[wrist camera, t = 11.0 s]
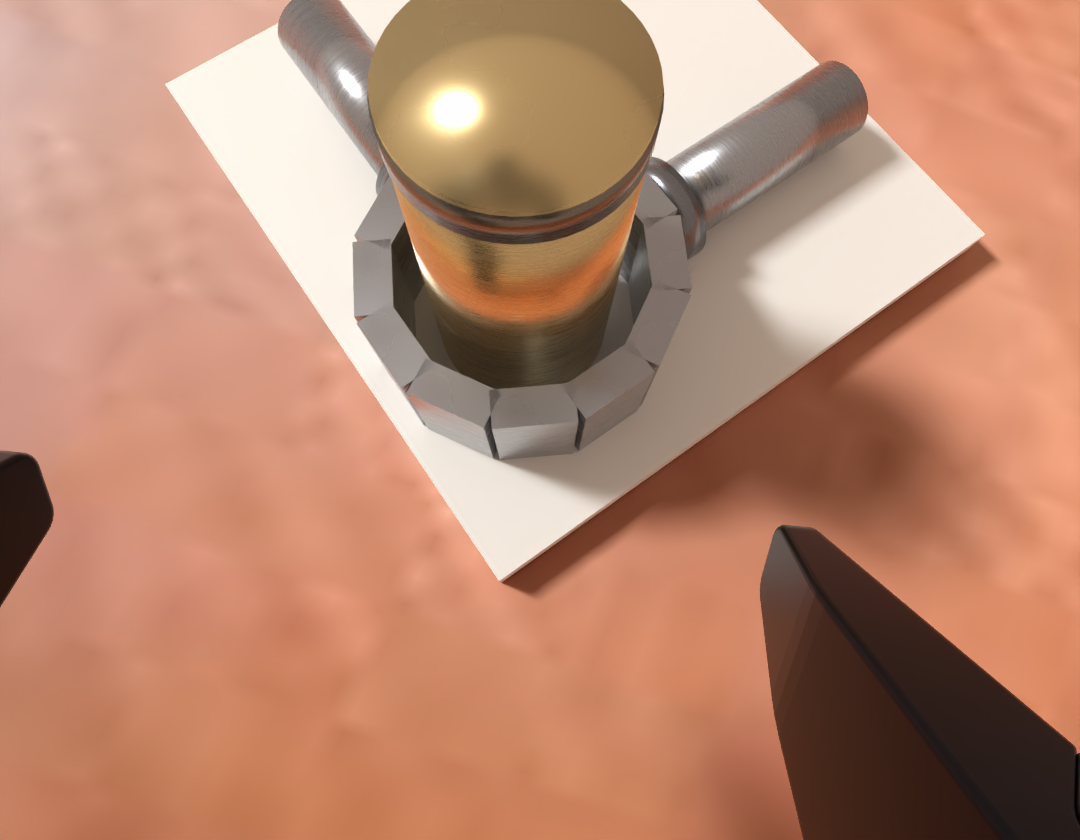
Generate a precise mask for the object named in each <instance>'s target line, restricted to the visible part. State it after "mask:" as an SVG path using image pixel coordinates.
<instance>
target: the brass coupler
mask: <svg viewBox="0 0 1080 840" xmlns="http://www.w3.org/2000/svg"><path fill="white" fill-rule="evenodd" d="M367 102H368V110H369V117H370V120H371V124H372V128H373V131H374V134H375V137H376V141H377V144H378V147H379V150H380V153H381V156H382V159H383V162H384V164H385V166H386V169H387V171H388V173H389V175H390V177H391V179H392V182H393V185H394V188H395V191H396V194H397V198H398V201H399V204H400V207H401V210H402V213H403V217H404V220H405V223H406V226H407V229H408V233H409V236H410V239H411V242H412V245H413V248H414V252H415V255H416V258H417V261H418V264H419V268H420V271H421V274H422V277H423V280H424V283H425V287H426V290H427V293H428V296H429V299H430V303H431V306H432V309H433V312H434V315H435V318H436V322H437V325H438V328H439V331H440V334H441V338H442V341H443V344H444V347H445V349H446V352H447V354H448V356H449V358H450V360H451V361H452V363H453V364H454V366H455V367H456V368H457V369H458V371H459V372H460V373H461V374H462V375H464V376H467V377H469V378H471V379H473V380H476V381H478V382H480V383H482V384H485V385H487V386H489V387H491V388H494V389H505V388H517V387H529V386H540V385H552V384H563V383H568V382H570V381H571V380H573V379H574V378H576V377H577V376H579V375H580V374H582V373H583V372H585V371H586V370H588V369H589V367H590V366H591V365H592V363H593V362H594V360H595V358H596V357H597V355H598V353H599V350H600V348H601V345H602V342H603V338H604V334H605V330H606V326H607V322H608V318H609V314H610V310H611V306H612V302H613V298H614V294H615V290H616V286H617V282H618V278H619V274H620V270H621V266H622V262H623V258H624V254H625V250H626V246H627V242H628V238H629V234H630V230H631V226H632V222H633V218H634V214H635V211H636V207H637V203H638V199H639V195H640V191H641V187H642V183H643V179H644V175H645V172H646V170H647V168H648V165H649V163H650V160H651V157H652V154H653V150H654V147H655V143H656V139H657V135H658V131H659V127H660V123H661V118H662V114H663V108H664V85H663V74H662V67H661V63H660V59H659V55H658V52H657V50H656V48H655V45H654V43H653V40H652V38H651V37H650V35H649V33H648V32H647V30H646V28H645V27H644V25H643V24H642V22H641V21H640V20H639V19H638V18H637V16H636V15H635V14H634V13H633V11H632V10H630V9H629V8H628V7H627V6H626V5H625V4H624V3H623V2H622V1H621V0H410V1H409V2H408V3H406V4H405V5H404V6H403V8H402V9H401V10H400V11H399V12H398V13H397V14H396V15H395V16H394V17H393V18H392V20H391V21H390V23H389V24H388V25H387V27H386V28H385V29H384V31H383V33H382V35H381V37H380V39H379V41H378V42H377V45H376V47H375V50H374V53H373V56H372V58H371V63H370V68H369V73H368V92H367Z"/></svg>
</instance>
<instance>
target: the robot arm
mask: <svg viewBox="0 0 1080 840" xmlns="http://www.w3.org/2000/svg"><path fill="white" fill-rule="evenodd" d="M53 516H54V509H53V505H52V502H51V499H50V496H49V493H48V490H47V487H46V484H45V481H44V478H43V476H42V473H41V470H40V467H39V464H38V462H37V461H36V460H35V459H34V457H33V456H31V455H29V454H27V453H21V452H10V451H0V607H1V605H2V604H3V602H4V600H5V599H6V597H7V596H8V594H9V592H10V591H11V589H12V588H13V586H14V584H15V583H16V581H17V580H18V578H19V576H20V575H21V573H22V572H23V570H24V569H25V567H26V565H27V564H28V562H29V561H30V559H31V557H32V556H33V554H34V553H35V551H36V549H37V548H38V546H39V545H40V543H41V542H42V540H43V538H44V537H45V535H46V534H47V532H48V530H49V529H50V527H51V524H52V521H53ZM760 601H761V609H762V618H763V626H764V635H765V643H766V652H767V660H768V669H769V677H770V686H771V695H772V702H773V709H774V716H775V721H776V726H777V730H778V735H779V740H780V744H781V748H782V752H783V756H784V760H785V765H786V769H787V773H788V777H789V781H790V786H791V790H792V794H793V798H794V802H795V806H796V811H797V815H798V819H799V823H800V827H801V832H802V836H803V840H1080V753H1078V754H1076V753H1077V751H1076V747H1075V746H1074V745H1073V744H1072V743H1071V742H1069V741H1068V740H1067V739H1066V738H1065V737H1063V736H1062V735H1061V734H1060V733H1059V732H1058V731H1056V730H1055V729H1054V728H1053V727H1052V726H1050V725H1049V724H1048V723H1047V722H1046V721H1044V720H1043V719H1042V718H1041V717H1040V716H1038V715H1037V714H1036V713H1035V712H1034V711H1032V710H1031V709H1030V708H1029V707H1028V706H1026V705H1025V704H1024V703H1023V702H1022V701H1020V700H1019V699H1018V698H1017V697H1016V696H1015V695H1013V694H1012V693H1011V692H1010V691H1009V690H1007V689H1006V688H1005V687H1004V686H1003V685H1001V684H1000V683H999V682H998V681H997V680H995V679H994V678H993V677H992V676H991V675H989V674H988V673H987V672H986V671H985V670H983V669H982V668H981V667H980V666H979V665H977V664H976V663H975V662H974V661H973V660H972V659H970V658H969V657H968V656H967V655H966V654H964V653H963V652H962V651H961V650H960V649H958V648H957V647H956V646H955V645H954V644H952V643H951V642H950V641H949V640H948V639H946V638H945V637H944V636H943V635H942V634H940V633H939V632H938V631H937V630H936V629H934V628H933V627H932V626H931V625H930V624H928V623H927V622H926V621H925V620H924V619H923V618H921V617H920V616H919V615H918V614H917V613H915V612H914V611H913V610H912V609H911V608H909V607H908V606H907V605H906V604H905V603H903V602H902V601H901V600H900V599H899V598H897V597H896V596H895V595H894V594H893V593H891V592H890V591H889V590H888V589H887V588H885V587H884V586H883V585H882V584H881V583H880V582H878V581H877V580H876V579H875V578H874V577H872V576H871V575H870V574H869V573H868V572H866V571H865V570H864V569H863V568H862V567H860V566H859V565H858V564H857V563H856V562H854V561H853V560H852V559H851V558H850V557H848V556H847V555H846V554H845V553H844V552H842V551H841V550H840V549H839V548H838V547H837V546H835V545H834V544H833V543H832V542H831V541H829V540H828V539H827V538H826V537H825V536H823V535H822V534H821V533H820V532H818V531H817V530H816V529H814V528H810V527H800V526H789V525H781V526H780V527H778V528H777V529H776V531H775V533H774V535H773V538H772V542H771V545H770V549H769V552H768V556H767V559H766V563H765V566H764V570H763V574H762V577H761V583H760Z"/></svg>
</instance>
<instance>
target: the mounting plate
mask: <svg viewBox="0 0 1080 840" xmlns="http://www.w3.org/2000/svg"><path fill="white" fill-rule="evenodd" d="M340 1H341V2H342V3H343V5H344V6H345V7H346V8H347V10H348V11H349V12H350V13H351V15H352V16H353V17H354V19H355V20H356V21H357V22H358V24H359V25H360V26H361V28H362V29H363V30H364V31H365V33H366V34H367V35H368V37H369V38H370V39H371V40H372V42H373V43H374V44H375V46H376V45H377V42H378V41H379V39H380V37H381V35H382V33H383V31H384V29H385V28H386V27H387V25H388V24H389V23H390V21H391V20H392V18H393V17H394V16H395V15H396V14H397V13H398V12H399V11H400V10H401V9H402V8H403V6H404V5H405V4H406V3H408V2H409V1H410V0H340ZM621 1H622V2H623V3H624V4H625V5H626V6H627V7H628V8H629V9H630V10H632V11H633V13H634V14H635V15H636V16H637V18H638V19H639V20H640V21H641V22H642V24H643V25H644V27H645V28H646V30H647V32H648V33H649V35H650V37H651V38H652V40H653V43H654V45H655V48H656V50H657V52H658V55H659V59H660V63H661V67H662V74H663V85H664V108H663V114H662V118H661V123H660V127H659V131H658V135H657V139H656V143H655V147H654V150H653V154H652V157H656V158H659V159H662V160H663V161H665V162H666V161H668V160H669V159H671V158H673V157H674V156H676V155H677V154H679V153H681V152H682V151H684V150H685V149H687V148H688V147H690V146H692V145H693V144H695V143H696V142H698V141H699V140H701V139H703V138H704V137H706V136H707V135H709V134H711V133H712V132H714V131H715V130H717V129H718V128H720V127H722V126H723V125H725V124H726V123H728V122H729V121H731V120H733V119H734V118H736V117H737V116H739V115H741V114H742V113H744V112H745V111H747V110H748V109H750V108H752V107H753V106H755V105H756V104H758V103H759V102H761V101H763V100H764V99H766V98H767V97H769V96H771V95H772V94H774V93H775V92H777V91H778V90H780V89H782V88H783V87H785V86H786V85H788V84H789V83H791V82H793V81H794V80H796V79H797V78H799V77H801V76H802V75H804V74H805V73H807V72H808V71H810V70H812V69H813V68H815V67H816V66H818V65H819V63H818V62H817V61H816V60H815V59H814V58H813V57H812V56H811V55H810V54H809V53H808V52H807V51H806V50H805V49H804V48H803V47H802V46H801V45H800V44H799V43H798V42H797V41H796V40H795V39H794V38H793V37H792V36H791V35H790V34H789V33H788V32H787V31H786V30H785V29H784V27H783V26H782V25H781V24H780V23H779V22H778V21H777V20H776V19H775V18H774V17H773V16H772V15H771V14H770V13H769V12H768V11H767V10H766V9H765V8H764V7H763V6H762V5H761V4H760V3H759V2H758V1H757V0H621ZM165 85H166V86H167V88H168V89H169V91H170V92H171V94H172V95H173V97H174V98H175V100H176V101H177V103H178V104H179V106H180V107H181V109H182V110H183V112H184V113H185V115H186V116H187V118H188V119H189V121H190V122H191V124H192V125H193V126H194V128H195V129H196V131H197V132H198V134H199V135H200V137H201V138H202V140H203V141H204V143H205V144H206V146H207V147H208V149H209V150H210V152H211V153H212V155H213V156H214V158H215V159H216V161H217V162H218V164H219V165H220V167H221V168H222V170H223V171H224V173H225V174H226V176H227V177H228V179H229V180H230V182H231V183H232V184H233V186H234V187H235V189H236V190H237V192H238V193H239V195H240V196H241V198H242V199H243V201H244V202H245V204H246V205H247V207H248V208H249V210H250V211H251V213H252V214H253V216H254V217H255V219H256V220H257V222H258V223H259V225H260V226H261V228H262V229H263V231H264V232H265V234H266V235H267V237H268V238H269V240H270V241H271V242H272V244H273V245H274V247H275V248H276V250H277V251H278V253H279V254H280V256H281V257H282V259H283V260H284V262H285V263H286V265H287V266H288V268H289V269H290V271H291V272H292V274H293V275H294V277H295V278H296V280H297V281H298V283H299V284H300V286H301V287H302V289H303V290H304V292H305V293H306V295H307V296H308V298H309V299H310V300H311V302H312V303H313V305H314V306H315V308H316V309H317V311H318V312H319V314H320V315H321V317H322V318H323V320H324V321H325V323H326V324H327V326H328V327H329V329H330V330H331V332H332V333H333V335H334V336H335V338H336V339H337V341H338V342H339V344H340V345H341V347H342V348H343V350H344V351H345V353H346V354H347V356H348V357H349V358H350V360H351V361H352V363H353V364H354V366H355V367H356V369H357V370H358V372H359V373H360V375H361V376H362V378H363V379H364V381H365V382H366V384H367V385H368V387H369V388H370V390H371V391H372V393H373V394H374V396H375V397H376V399H377V400H378V402H379V403H380V405H381V406H382V408H383V409H384V411H385V412H386V414H387V415H388V416H389V418H390V419H391V421H392V422H393V424H394V425H395V427H396V428H397V430H398V431H399V433H400V434H401V436H402V437H403V439H404V440H405V442H406V443H407V445H408V446H409V448H410V449H411V451H412V452H413V454H414V455H415V457H416V458H417V460H418V461H419V463H420V464H421V466H422V467H423V469H424V470H425V472H426V473H427V474H428V476H429V477H430V479H431V480H432V482H433V483H434V485H435V486H436V488H437V489H438V491H439V492H440V494H441V495H442V497H443V498H444V500H445V501H446V503H447V504H448V506H449V507H450V509H451V510H452V512H453V513H454V515H455V516H456V518H457V519H458V521H459V522H460V524H461V525H462V527H463V528H464V530H465V531H466V532H467V534H468V535H469V537H470V538H471V540H472V541H473V543H474V544H475V546H476V547H477V549H478V550H479V552H480V553H481V555H482V556H483V558H484V559H485V561H486V562H487V564H488V565H489V567H490V568H491V570H492V571H493V573H494V574H495V576H496V577H497V579H498V580H499V581H500V582H501V583H502V582H503V581H504V580H506V579H507V578H509V577H510V576H511V575H513V574H514V573H516V572H517V571H518V570H520V569H521V568H523V567H524V566H525V565H527V564H528V563H530V562H531V561H532V560H534V559H535V558H537V557H538V556H539V555H541V554H542V553H544V552H545V551H546V550H548V549H549V548H551V547H552V546H553V545H555V544H556V543H558V542H559V541H560V540H562V539H563V538H565V537H566V536H567V535H569V534H570V533H572V532H573V531H574V530H576V529H577V528H579V527H580V526H581V525H583V524H584V523H586V522H587V521H588V520H590V519H591V518H593V517H594V516H595V515H597V514H598V513H600V512H601V511H602V510H604V509H605V508H607V507H608V506H609V505H611V504H612V503H614V502H615V501H616V500H618V499H619V498H621V497H622V496H623V495H625V494H626V493H628V492H629V491H630V490H632V489H633V488H635V487H636V486H637V485H639V484H640V483H642V482H643V481H644V480H646V479H647V478H649V477H650V476H651V475H653V474H654V473H656V472H657V471H658V470H660V469H661V468H663V467H664V466H665V465H667V464H668V463H670V462H671V461H672V460H674V459H675V458H677V457H678V456H679V455H681V454H682V453H684V452H685V451H686V450H688V449H689V448H691V447H692V446H693V445H695V444H696V443H698V442H699V441H700V440H702V439H703V438H705V437H706V436H707V435H709V434H710V433H712V432H713V431H714V430H716V429H717V428H719V427H720V426H721V425H723V424H724V423H726V422H727V421H728V420H730V419H731V418H733V417H734V416H735V415H737V414H738V413H740V412H741V411H742V410H744V409H745V408H747V407H748V406H749V405H751V404H752V403H754V402H755V401H756V400H758V399H759V398H761V397H762V396H763V395H765V394H766V393H768V392H769V391H770V390H772V389H773V388H775V387H776V386H777V385H779V384H780V383H782V382H783V381H784V380H786V379H787V378H789V377H790V376H791V375H793V374H794V373H796V372H797V371H798V370H800V369H801V368H803V367H804V366H805V365H807V364H808V363H810V362H811V361H812V360H814V359H815V358H817V357H818V356H819V355H821V354H822V353H824V352H825V351H826V350H828V349H829V348H831V347H832V346H833V345H835V344H836V343H838V342H839V341H840V340H842V339H843V338H845V337H846V336H847V335H849V334H850V333H852V332H853V331H854V330H856V329H857V328H859V327H860V326H861V325H863V324H864V323H866V322H867V321H868V320H870V319H871V318H873V317H874V316H875V315H877V314H878V313H880V312H881V311H882V310H884V309H885V308H887V307H888V306H889V305H891V304H892V303H894V302H895V301H896V300H898V299H899V298H901V297H902V296H903V295H905V294H906V293H908V292H909V291H910V290H912V289H913V288H915V287H916V286H917V285H919V284H920V283H922V282H923V281H924V280H926V279H927V278H929V277H930V276H931V275H933V274H934V273H936V272H937V271H938V270H940V269H941V268H943V267H944V266H945V265H947V264H948V263H950V262H951V261H952V260H954V259H955V258H957V257H958V256H959V255H961V254H962V253H964V252H965V251H966V250H968V249H969V248H970V247H971V246H972V245H973V244H975V243H976V242H977V241H978V240H979V239H980V238H982V237H983V236H984V235H985V234H984V233H983V232H982V231H981V230H980V229H979V228H978V227H977V226H976V225H975V224H974V222H973V221H972V220H971V219H970V218H969V217H968V216H967V215H966V214H965V213H964V212H963V211H962V210H961V209H960V208H959V207H958V206H957V205H956V204H955V203H954V202H953V201H952V200H951V199H950V198H949V197H948V196H947V195H946V194H945V193H944V192H943V191H942V190H941V189H940V188H939V187H938V186H937V185H936V183H935V182H934V181H933V180H932V179H931V178H930V177H929V176H928V175H927V174H926V173H925V172H924V171H923V170H922V169H921V168H920V167H919V166H918V165H917V164H916V163H915V162H914V161H913V160H912V159H911V158H910V157H909V156H908V155H907V154H906V153H905V152H904V151H903V150H902V149H901V148H900V147H899V146H898V144H897V143H896V142H895V141H894V140H893V139H892V138H891V137H890V136H889V135H888V134H887V133H886V132H885V131H884V130H883V129H882V128H881V127H880V126H879V125H878V124H877V123H876V122H875V121H874V120H873V119H872V118H871V117H870V116H869V115H868V114H867V118H866V121H865V123H864V125H863V127H862V128H861V129H860V130H859V131H858V132H857V133H855V134H854V135H852V136H851V137H849V138H848V139H846V140H845V141H843V142H842V143H840V144H839V145H837V146H836V147H834V148H833V149H831V150H830V151H828V152H827V153H825V154H823V155H822V156H820V157H819V158H817V159H816V160H814V161H813V162H811V163H810V164H808V165H807V166H805V167H804V168H802V169H801V170H799V171H798V172H796V173H795V174H793V175H792V176H790V177H789V178H787V179H786V180H784V181H783V182H781V183H779V184H778V185H776V186H775V187H773V188H772V189H770V190H769V191H767V192H766V193H764V194H763V195H761V196H760V197H758V198H757V199H755V200H754V201H752V202H751V203H749V204H748V205H746V206H745V207H743V208H742V209H740V210H739V211H737V212H735V213H734V214H732V215H731V216H729V217H728V218H726V219H725V220H723V221H722V222H720V223H719V224H717V225H716V226H714V227H713V228H711V229H710V230H708V231H707V232H706V242H705V245H704V248H703V249H702V250H701V251H700V252H699V253H698V254H696V255H695V256H693V257H691V258H690V259H688V265H689V272H690V278H691V284H692V289H691V292H690V295H691V297H690V299H689V301H688V303H687V306H686V308H685V310H684V312H683V315H682V317H681V319H680V321H679V324H678V326H677V328H676V330H675V333H674V335H673V337H672V339H671V342H670V344H669V346H668V348H667V351H666V353H665V355H664V357H663V360H662V362H661V364H660V366H659V369H658V371H657V373H656V375H655V377H654V379H653V381H652V384H651V386H650V388H649V390H648V392H647V394H646V396H645V399H644V401H643V403H642V405H641V406H639V408H638V410H637V411H636V412H635V413H633V414H632V415H631V416H629V417H628V418H626V419H625V420H623V421H622V422H620V423H619V424H618V425H616V426H615V427H613V428H612V429H610V430H609V431H607V432H606V433H605V434H603V435H602V436H600V437H599V438H597V439H596V440H595V441H593V442H592V443H590V444H589V445H587V446H586V447H584V448H583V449H582V450H580V451H578V449H577V448H576V447H575V445H574V449H573V454H563V455H551V456H540V457H529V458H518V459H506V460H500V458H499V454H498V450H497V453H496V455H495V457H494V459H492V458H490V457H488V456H486V455H484V454H482V453H479V452H477V451H475V450H473V449H471V448H468V447H466V446H464V445H462V444H460V443H457V442H455V441H453V440H451V439H449V438H446V437H444V436H442V435H440V434H438V433H436V432H433V431H431V430H429V429H428V428H427V426H426V424H425V425H423V424H422V422H421V421H420V419H419V418H418V416H417V415H416V413H415V412H414V410H413V409H412V407H411V406H410V405H409V403H408V402H407V400H406V399H405V397H404V396H403V394H402V393H401V391H400V390H399V388H398V387H397V386H396V384H395V383H394V381H393V380H392V378H391V377H390V375H389V374H388V372H387V371H386V369H385V368H384V366H383V365H382V363H381V362H380V360H379V358H378V357H377V355H376V354H375V352H374V350H373V349H372V347H371V346H370V344H369V343H368V341H367V339H366V338H365V336H364V335H363V333H362V332H361V330H360V328H359V327H358V325H357V324H356V323H357V320H356V319H355V317H354V292H353V247H352V242H357V240H356V238H355V236H354V235H355V233H356V231H357V230H358V228H359V226H360V225H361V223H362V221H363V220H364V218H365V216H366V215H367V213H368V211H369V210H370V208H371V206H372V204H373V203H374V201H375V199H376V198H377V194H376V180H377V174H376V173H375V172H374V170H373V169H372V167H371V166H370V165H369V163H368V162H367V161H366V159H365V158H364V157H363V155H362V154H361V153H360V151H359V150H358V148H357V147H356V146H355V144H354V143H353V142H352V140H351V139H350V138H349V136H348V135H347V134H346V132H345V131H344V129H343V128H342V127H341V125H340V124H339V123H338V121H337V120H336V119H335V117H334V116H333V115H332V113H331V112H330V110H329V109H328V108H327V106H326V105H325V104H324V102H323V101H322V100H321V98H320V97H319V96H318V94H317V93H316V91H315V90H314V89H313V87H312V86H311V85H310V83H309V82H308V81H307V79H306V78H305V77H304V75H303V74H302V73H301V71H300V70H299V68H298V67H297V66H296V64H295V63H294V62H293V60H292V59H291V58H290V56H289V55H288V54H287V52H286V51H285V49H284V48H283V47H282V45H281V43H280V41H279V37H278V23H277V24H276V25H274V26H272V27H270V28H268V29H266V30H264V31H263V32H261V33H259V34H257V35H255V36H253V37H251V38H250V39H248V40H246V41H244V42H242V43H240V44H239V45H237V46H235V47H233V48H231V49H229V50H227V51H226V52H224V53H222V54H220V55H218V56H216V57H215V58H213V59H211V60H209V61H207V62H205V63H203V64H202V65H200V66H198V67H196V68H194V69H192V70H190V71H189V72H187V73H185V74H183V75H181V76H179V77H178V78H176V79H174V80H172V81H170V82H168V83H166V84H165ZM414 305H415V326H416V340H417V341H418V343H419V344H420V345H421V347H422V348H423V350H424V351H425V353H426V354H427V355H428V357H429V358H430V360H431V361H433V362H435V363H437V364H440V365H442V366H444V367H446V368H449V369H451V370H453V371H455V372H458V373H460V372H459V371H458V369H457V368H456V367H455V366H454V364H453V363H452V361H451V360H450V358H449V356H448V354H447V352H446V349H445V347H444V344H443V341H442V338H441V334H440V331H439V328H438V325H437V322H436V318H435V315H434V312H433V309H432V306H431V303H430V299H429V296H428V293H427V290H426V287H425V284H424V285H423V287H422V289H421V291H420V293H419V294H418V296H417V298H416V300H415V302H414ZM633 326H634V325H633V317H632V310H631V303H630V295H629V288H628V283H627V282H626V281H625V280H624V278H623V277H622V276H621V275H620V274H619V278H618V282H617V286H616V290H615V294H614V298H613V302H612V306H611V310H610V314H609V318H608V322H607V326H606V330H605V334H604V338H603V342H602V345H601V348H600V350H599V353H598V355H597V357H596V358H595V360H594V362H593V363H592V365H591V366H590V367H589V368H591V367H592V366H594V365H595V364H597V363H598V362H600V361H601V360H603V359H604V358H605V357H607V356H608V355H610V354H611V353H613V352H614V351H616V350H617V349H619V348H620V347H622V346H623V345H625V343H626V341H627V339H628V337H629V335H630V333H631V330H632V328H633ZM460 374H461V373H460Z"/></svg>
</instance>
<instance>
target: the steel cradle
mask: <svg viewBox="0 0 1080 840" xmlns="http://www.w3.org/2000/svg"><path fill="white" fill-rule="evenodd" d="M278 37H279V41H280V43H281V45H282V47H283V48H284V49H285V51H286V52H287V54H288V55H289V56H290V58H291V59H292V60H293V62H294V63H295V64H296V66H297V67H298V68H299V70H300V71H301V73H302V74H303V75H304V77H305V78H306V79H307V81H308V82H309V83H310V85H311V86H312V87H313V89H314V90H315V91H316V93H317V94H318V96H319V97H320V98H321V100H322V101H323V102H324V104H325V105H326V106H327V108H328V109H329V110H330V112H331V113H332V115H333V116H334V117H335V119H336V120H337V121H338V123H339V124H340V125H341V127H342V128H343V129H344V131H345V132H346V134H347V135H348V136H349V138H350V139H351V140H352V142H353V143H354V144H355V146H356V147H357V148H358V150H359V151H360V153H361V154H362V155H363V157H364V158H365V159H366V161H367V162H368V163H369V165H370V166H371V167H372V169H373V170H374V172H375V173H376V174H377V180H376V194H377V198H376V199H375V201H374V203H373V204H372V206H371V208H370V210H369V211H368V213H367V215H366V216H365V218H364V220H363V221H362V223H361V225H360V226H359V228H358V230H357V231H356V233H355V235H354V236H355V238H356V240H357V242H352V247H353V292H354V317H355V319H356V320H357V323H356V324H357V325H358V327H359V328H360V330H361V332H362V333H363V335H364V336H365V338H366V339H367V341H368V343H369V344H370V346H371V347H372V349H373V350H374V352H375V354H376V355H377V357H378V358H379V360H380V362H381V363H382V365H383V366H384V368H385V369H386V371H387V372H388V374H389V375H390V377H391V378H392V380H393V381H394V383H395V384H396V386H397V387H398V388H399V390H400V391H401V393H402V394H403V396H404V397H405V399H406V400H407V402H408V403H409V405H410V406H411V407H412V409H413V410H414V412H415V413H416V415H417V416H418V418H419V419H420V421H421V422H422V424H423V425H425V424H426V426H427V428H428V429H429V430H431V431H433V432H436V433H438V434H440V435H442V436H444V437H446V438H449V439H451V440H453V441H455V442H457V443H460V444H462V445H464V446H466V447H468V448H471V449H473V450H475V451H477V452H479V453H482V454H484V455H486V456H488V457H490V458H492V459H494V457H495V455H496V453H497V450H498V454H499V458H500V460H506V459H518V458H529V457H540V456H551V455H563V454H573V449H574V445H575V447H576V448H577V449H578V451H580V450H582V449H583V448H584V447H586V446H587V445H589V444H590V443H592V442H593V441H595V440H596V439H597V438H599V437H600V436H602V435H603V434H605V433H606V432H607V431H609V430H610V429H612V428H613V427H615V426H616V425H618V424H619V423H620V422H622V421H623V420H625V419H626V418H628V417H629V416H631V415H632V414H633V413H635V412H636V411H637V410H638V408H639V406H641V405H642V403H643V401H644V399H645V396H646V394H647V392H648V390H649V388H650V386H651V384H652V381H653V379H654V377H655V375H656V373H657V371H658V369H659V366H660V364H661V362H662V360H663V357H664V355H665V353H666V351H667V348H668V346H669V344H670V342H671V339H672V337H673V335H674V333H675V330H676V328H677V326H678V324H679V321H680V319H681V317H682V315H683V312H684V310H685V308H686V306H687V303H688V301H689V299H690V297H691V295H690V292H691V289H692V284H691V278H690V272H689V265H688V259H690V258H691V257H693V256H695V255H696V254H698V253H699V252H700V251H701V250H702V249H703V248H704V245H705V242H706V232H707V231H708V230H710V229H711V228H713V227H714V226H716V225H717V224H719V223H720V222H722V221H723V220H725V219H726V218H728V217H729V216H731V215H732V214H734V213H735V212H737V211H739V210H740V209H742V208H743V207H745V206H746V205H748V204H749V203H751V202H752V201H754V200H755V199H757V198H758V197H760V196H761V195H763V194H764V193H766V192H767V191H769V190H770V189H772V188H773V187H775V186H776V185H778V184H779V183H781V182H783V181H784V180H786V179H787V178H789V177H790V176H792V175H793V174H795V173H796V172H798V171H799V170H801V169H802V168H804V167H805V166H807V165H808V164H810V163H811V162H813V161H814V160H816V159H817V158H819V157H820V156H822V155H823V154H825V153H827V152H828V151H830V150H831V149H833V148H834V147H836V146H837V145H839V144H840V143H842V142H843V141H845V140H846V139H848V138H849V137H851V136H852V135H854V134H855V133H857V132H858V131H859V130H860V129H861V128H862V127H863V125H864V123H865V121H866V118H867V114H868V101H867V96H866V92H865V89H864V87H863V85H862V83H861V81H860V79H859V78H858V77H857V75H856V74H855V73H854V72H853V71H852V70H851V69H850V68H849V67H847V66H846V65H844V64H842V63H840V62H836V61H826V62H823V63H821V64H819V65H818V66H816V67H815V68H813V69H812V70H810V71H808V72H807V73H805V74H804V75H802V76H801V77H799V78H797V79H796V80H794V81H793V82H791V83H789V84H788V85H786V86H785V87H783V88H782V89H780V90H778V91H777V92H775V93H774V94H772V95H771V96H769V97H767V98H766V99H764V100H763V101H761V102H759V103H758V104H756V105H755V106H753V107H752V108H750V109H748V110H747V111H745V112H744V113H742V114H741V115H739V116H737V117H736V118H734V119H733V120H731V121H729V122H728V123H726V124H725V125H723V126H722V127H720V128H718V129H717V130H715V131H714V132H712V133H711V134H709V135H707V136H706V137H704V138H703V139H701V140H699V141H698V142H696V143H695V144H693V145H692V146H690V147H688V148H687V149H685V150H684V151H682V152H681V153H679V154H677V155H676V156H674V157H673V158H671V159H669V160H668V161H666V162H665V161H663V160H662V159H659V158H656V157H651V160H650V163H649V165H648V168H647V170H646V172H645V175H644V179H643V183H642V187H641V191H640V195H639V199H638V203H637V207H636V211H635V214H634V218H633V222H632V226H631V230H630V234H629V238H628V242H627V246H626V250H625V254H624V258H623V262H622V266H621V270H620V275H621V276H622V277H623V278H624V280H625V281H626V282H627V283H628V288H629V295H630V303H631V310H632V317H633V325H634V326H633V328H632V330H631V333H630V335H629V337H628V339H627V341H626V343H625V345H623V346H622V347H620V348H619V349H617V350H616V351H614V352H613V353H611V354H610V355H608V356H607V357H605V358H604V359H603V360H601V361H600V362H598V363H597V364H595V365H594V366H592V367H591V368H589V369H588V370H586V371H585V372H583V373H582V374H580V375H579V376H577V377H576V378H574V379H573V380H571V381H570V382H568V383H563V384H552V385H540V386H529V387H517V388H505V389H494V388H491V387H489V386H487V385H485V384H482V383H480V382H478V381H476V380H473V379H471V378H469V377H467V376H464V375H462V374H460V373H458V372H455V371H453V370H451V369H449V368H446V367H444V366H442V365H440V364H437V363H435V362H433V361H431V360H430V358H429V357H428V355H427V354H426V353H425V351H424V350H423V348H422V347H421V345H420V344H419V343H418V341H417V340H416V326H415V305H414V302H415V300H416V298H417V296H418V294H419V293H420V291H421V289H422V287H423V285H424V284H425V283H424V280H423V277H422V274H421V271H420V268H419V264H418V261H417V258H416V255H415V252H414V248H413V245H412V242H411V239H410V236H409V233H408V229H407V226H406V223H405V220H404V217H403V213H402V210H401V207H400V204H399V201H398V198H397V194H396V191H395V188H394V185H393V182H392V179H391V177H390V175H389V173H388V171H387V169H386V166H385V164H384V162H383V159H382V156H381V153H380V150H379V147H378V144H377V141H376V137H375V134H374V131H373V128H372V124H371V120H370V117H369V110H368V102H367V92H368V73H369V68H370V63H371V58H372V56H373V53H374V50H375V47H376V46H375V44H374V43H373V42H372V40H371V39H370V38H369V37H368V35H367V34H366V33H365V31H364V30H363V29H362V28H361V26H360V25H359V24H358V22H357V21H356V20H355V19H354V17H353V16H352V15H351V13H350V12H349V11H348V10H347V8H346V7H345V6H344V5H343V3H342V2H341V1H340V0H292V1H291V2H290V3H289V4H288V5H287V6H286V7H285V9H284V11H283V12H282V14H281V16H280V19H279V23H278Z"/></svg>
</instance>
